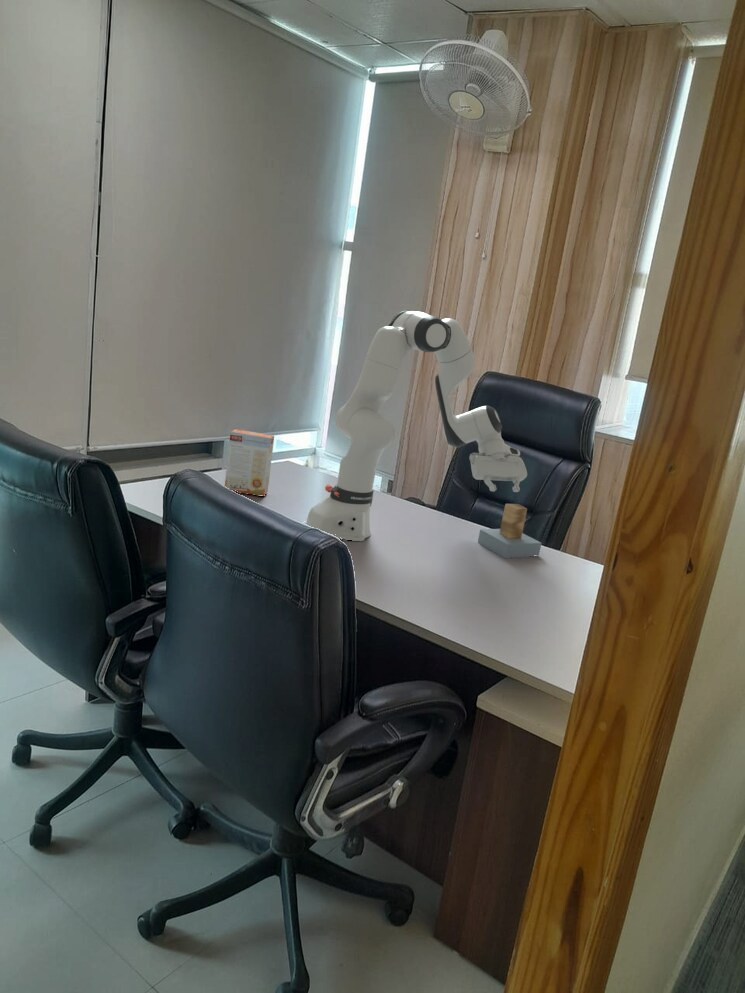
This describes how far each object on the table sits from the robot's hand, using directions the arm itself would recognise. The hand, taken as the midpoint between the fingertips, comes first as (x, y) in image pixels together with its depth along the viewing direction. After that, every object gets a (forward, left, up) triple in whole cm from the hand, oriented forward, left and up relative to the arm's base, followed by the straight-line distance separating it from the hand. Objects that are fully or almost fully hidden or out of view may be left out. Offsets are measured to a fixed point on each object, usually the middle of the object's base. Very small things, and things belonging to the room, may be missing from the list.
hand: (505, 490), depth 255 cm
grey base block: (0, -7, -18) cm, 19 cm away
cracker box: (-69, +51, -18) cm, 88 cm away
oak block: (0, -7, -13) cm, 15 cm away
